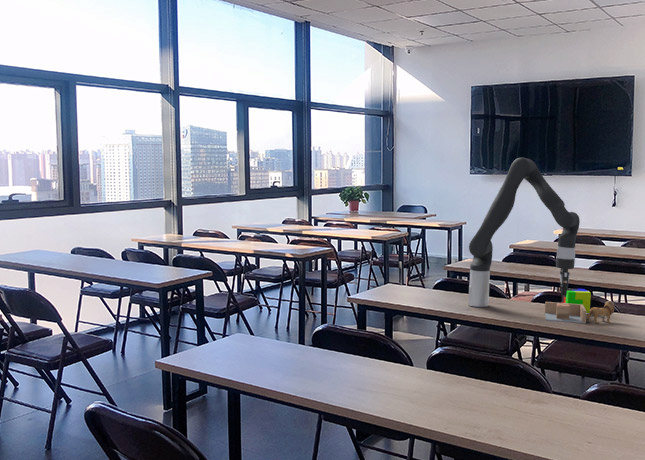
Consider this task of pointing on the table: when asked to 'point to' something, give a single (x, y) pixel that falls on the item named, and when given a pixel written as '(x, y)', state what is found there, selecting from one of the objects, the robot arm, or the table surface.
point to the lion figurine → (602, 312)
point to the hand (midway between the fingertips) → (563, 293)
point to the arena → (575, 313)
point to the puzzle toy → (578, 298)
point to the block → (562, 311)
